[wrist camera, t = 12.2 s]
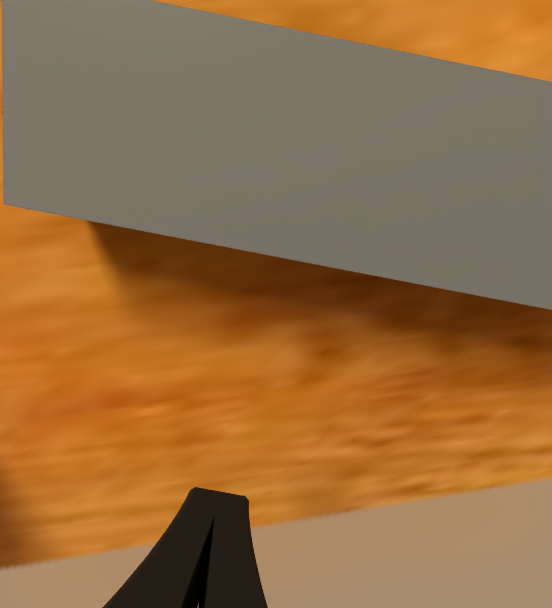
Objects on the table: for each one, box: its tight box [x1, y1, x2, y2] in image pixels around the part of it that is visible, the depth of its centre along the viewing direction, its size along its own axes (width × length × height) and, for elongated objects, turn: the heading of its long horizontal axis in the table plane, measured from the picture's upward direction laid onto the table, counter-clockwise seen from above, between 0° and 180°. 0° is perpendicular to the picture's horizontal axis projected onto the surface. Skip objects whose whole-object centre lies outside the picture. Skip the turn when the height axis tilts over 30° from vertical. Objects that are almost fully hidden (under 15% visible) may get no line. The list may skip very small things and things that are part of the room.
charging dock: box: [2, 0, 552, 310], centre depth 15 cm, size 20×6×5 cm, turn 79°
